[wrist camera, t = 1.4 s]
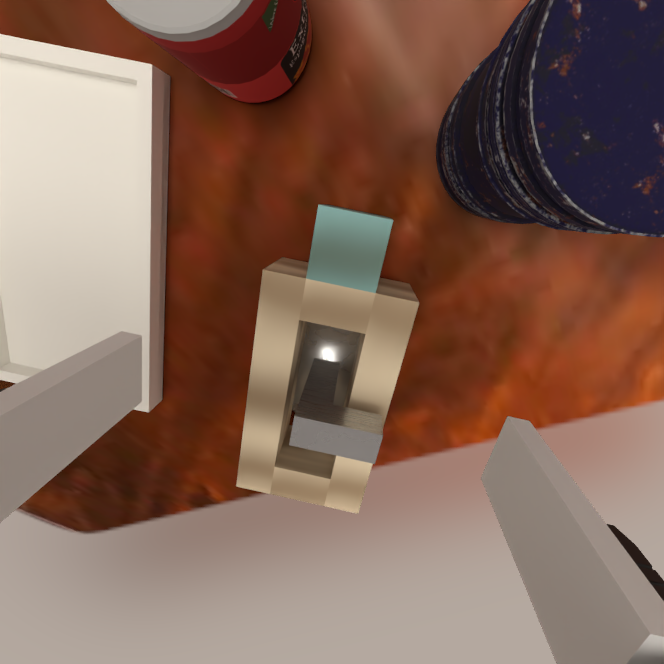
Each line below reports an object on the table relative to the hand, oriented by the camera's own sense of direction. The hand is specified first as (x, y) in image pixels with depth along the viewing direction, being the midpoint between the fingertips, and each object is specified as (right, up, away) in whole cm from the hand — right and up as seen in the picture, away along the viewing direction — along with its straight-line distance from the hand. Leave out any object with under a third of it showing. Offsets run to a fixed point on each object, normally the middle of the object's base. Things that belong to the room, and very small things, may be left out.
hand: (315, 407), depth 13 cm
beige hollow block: (0, +1, +14) cm, 14 cm away
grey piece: (0, +1, +18) cm, 18 cm away
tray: (-20, +10, +16) cm, 28 cm away
